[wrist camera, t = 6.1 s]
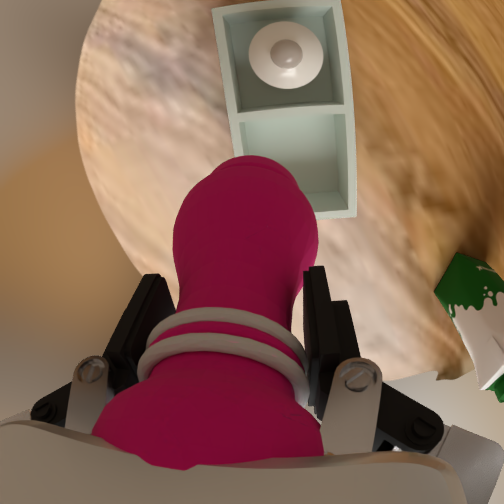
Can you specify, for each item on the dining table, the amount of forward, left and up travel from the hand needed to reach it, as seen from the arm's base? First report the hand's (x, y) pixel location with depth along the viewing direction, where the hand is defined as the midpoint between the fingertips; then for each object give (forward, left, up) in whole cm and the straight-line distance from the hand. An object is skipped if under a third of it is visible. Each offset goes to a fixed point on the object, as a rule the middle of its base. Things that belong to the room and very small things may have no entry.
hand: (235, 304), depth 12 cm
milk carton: (+19, +28, -24) cm, 42 cm away
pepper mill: (0, 0, -10) cm, 10 cm away
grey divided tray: (-5, +4, -24) cm, 25 cm away
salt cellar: (-10, +4, -23) cm, 25 cm away
